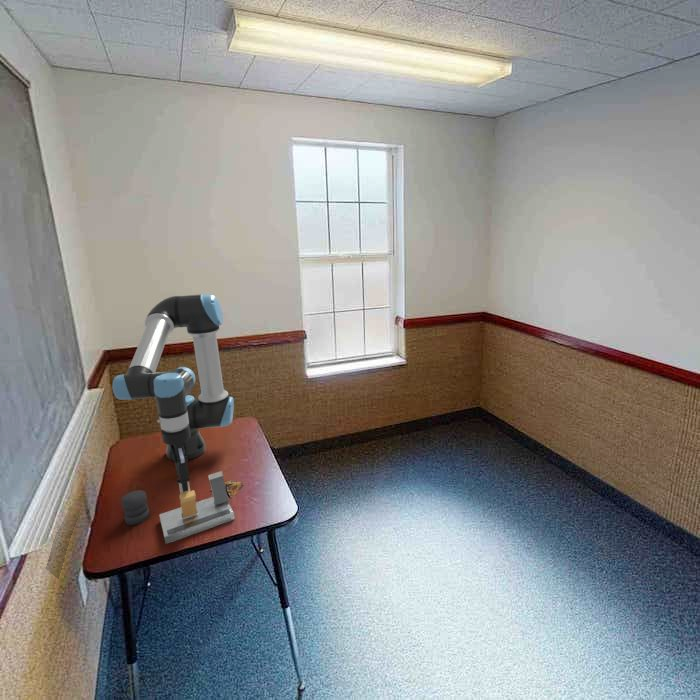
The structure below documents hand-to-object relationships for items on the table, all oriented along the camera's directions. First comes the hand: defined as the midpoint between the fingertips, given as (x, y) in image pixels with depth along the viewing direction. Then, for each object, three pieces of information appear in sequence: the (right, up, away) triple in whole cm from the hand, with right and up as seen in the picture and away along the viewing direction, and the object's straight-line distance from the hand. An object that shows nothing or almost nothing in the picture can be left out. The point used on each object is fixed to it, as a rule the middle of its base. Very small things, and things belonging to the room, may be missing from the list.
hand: (186, 498), depth 126 cm
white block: (+9, -5, +8) cm, 12 cm away
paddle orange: (0, -6, +3) cm, 7 cm away
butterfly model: (+7, -5, +21) cm, 23 cm away
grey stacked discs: (-18, -9, +7) cm, 21 cm away
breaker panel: (+2, -9, +5) cm, 10 cm away
